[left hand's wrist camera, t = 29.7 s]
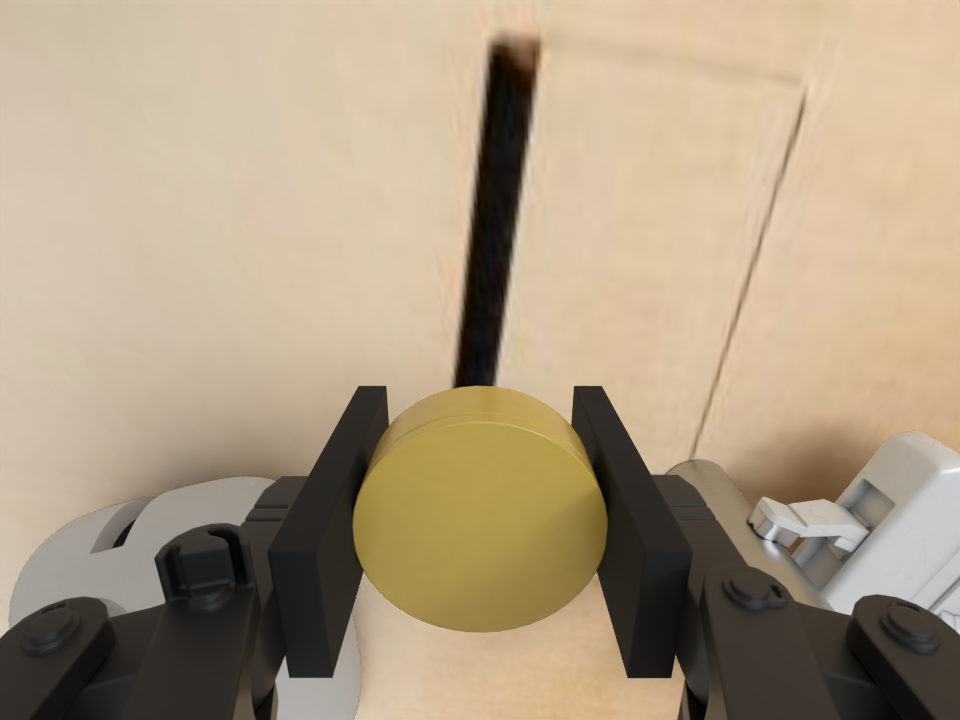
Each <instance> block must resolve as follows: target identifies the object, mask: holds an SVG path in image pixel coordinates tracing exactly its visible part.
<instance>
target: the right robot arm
mask: <svg viewBox="0 0 960 720" xmlns="http://www.w3.org/2000/svg"><path fill="white" fill-rule="evenodd" d="M747 520H748V522H749V523H751V524H753V526H754V530H755V531H756V532H757V533H758V534H759V535H760V536H761V537H763V538H764V539H766V540H769V541H776V542H777V543H778V544H779V545H781V546H784V547H786V548H790V547H791V546H792V544H793V543H794V542H795V541H796V540H797V539H798V537H806V538H805V539H804V540H803V542H802V543H801V544H800V545H799V547H798V548H797V549H796V550H795V551H794V553H793V554H792V555H791V556H792V557H793V558H794V560H795V561H796V562H797V563H798V565H799V566H800V567H801V568H802V570H803V571H804V572H805V574H806V575H807V576H808V577H809V579H810V580H811V581H812V582H813V584H814V585H815V586H816V587H817V589H818V590H819V591H820V592H821V594H822V595H823V596H824V598H825V599H826V600H827V601H828V603H829V604H830V605H831V606H832V608H833V609H834V610H835V611H836V612H839V613H843V614H847V615H851V614H852V611H853V608H854V605H855V603H856V602H857V601H858V600H859V599H860V598H862V597H863V596H868V595H875V594H880V595H886V596H893V597H897V598H900V599H903V600H906V601H909V602H912V603H914V604H917V605H919V606H921V607H922V608H924V609H926V610H928V611H930V612H931V613H933V614H935V615H937V616H938V617H940V618H941V619H942V620H943V621H944V622H946V623H947V624H948V625H949V626H951V627H952V628H953V629H954V630H956V631H957V632H958V633H959V634H960V453H958V452H956V451H955V450H953V449H951V448H950V447H948V446H946V445H944V444H943V443H941V442H939V441H937V440H936V439H934V438H932V437H930V436H928V435H926V434H924V433H922V432H920V431H910V432H904V433H899V434H895V435H892V436H890V437H889V438H887V439H886V441H885V442H884V443H883V444H882V445H881V447H880V448H879V449H878V450H877V451H876V453H875V454H874V455H873V456H872V458H871V459H870V460H869V461H868V462H867V464H866V465H865V466H864V467H863V469H862V470H861V471H860V472H859V473H858V475H857V476H856V477H855V478H854V480H853V481H852V482H851V483H850V484H849V486H848V487H847V488H846V489H845V490H844V492H843V493H842V494H841V495H840V497H839V498H838V499H837V500H836V501H835V503H833V502H830V501H828V500H825V499H819V500H812V501H805V502H798V503H791V504H788V505H784V504H782V503H779V502H777V501H774V500H772V499H769V498H767V497H762V498H761V499H760V500H759V502H758V503H757V504H756V506H755V507H754V509H753V510H752V511H751V513H750V514H749V516H748V517H747Z"/></svg>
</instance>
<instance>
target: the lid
mask: <svg viewBox="0 0 960 720" xmlns="http://www.w3.org/2000/svg"><path fill="white" fill-rule="evenodd" d="M352 524H353V535H354V544H355V550H356V554H357V556H358V559H359V561H360V564H361V566H362V568H363V570H364V572H365V573H366V575H367V577H368V578H369V580H370V581H371V582H372V584H373V585H374V586H375V588H376V589H377V590H378V591H379V592H380V593H381V594H382V595H383V596H384V597H385V598H386V599H387V600H389V601H390V602H391V603H392V604H394V605H395V606H396V607H398V608H399V609H401V610H402V611H404V612H406V613H407V614H409V615H411V616H413V617H415V618H417V619H419V620H421V621H423V622H426V623H429V624H432V625H435V626H438V627H442V628H446V629H451V630H457V631H464V632H497V631H504V630H510V629H515V628H518V627H522V626H526V625H529V624H531V623H534V622H537V621H539V620H542V619H544V618H546V617H547V616H549V615H551V614H553V613H555V612H557V611H558V610H560V609H561V608H563V607H564V606H565V605H567V604H568V603H569V602H571V601H572V600H573V599H574V598H575V597H576V596H577V595H579V593H580V592H581V591H582V590H583V589H584V588H585V587H586V586H587V584H588V583H589V582H590V580H591V579H592V577H593V576H594V574H595V573H596V571H597V569H598V567H599V565H600V563H601V560H602V558H603V554H604V551H605V547H606V538H607V528H608V515H607V509H606V504H605V501H604V498H603V495H602V492H601V489H600V487H599V484H598V481H597V479H596V476H595V473H594V471H593V468H592V465H591V463H590V460H589V457H588V454H587V452H586V449H585V447H584V445H583V443H582V441H581V439H580V438H579V436H578V435H577V433H576V432H575V430H574V429H573V428H572V426H571V425H570V424H569V423H568V422H567V421H566V420H565V419H564V418H563V417H562V416H561V415H560V414H558V413H557V412H556V411H555V410H553V409H552V408H551V407H549V406H548V405H546V404H544V403H543V402H541V401H539V400H538V399H535V398H533V397H531V396H528V395H526V394H524V393H520V392H517V391H513V390H510V389H505V388H499V387H491V386H471V387H461V388H456V389H451V390H446V391H443V392H440V393H437V394H434V395H432V396H429V397H427V398H425V399H423V400H421V401H419V402H417V403H416V404H414V405H413V406H411V407H410V408H408V409H407V410H405V411H404V412H403V413H402V414H401V415H400V416H399V417H397V418H396V419H395V420H394V421H393V422H392V424H391V425H390V426H389V427H388V428H387V429H386V431H385V432H384V434H383V435H382V437H381V438H380V440H379V442H378V444H377V446H376V448H375V451H374V453H373V455H372V458H371V461H370V463H369V466H368V469H367V471H366V474H365V477H364V479H363V482H362V485H361V488H360V490H359V493H358V495H357V499H356V502H355V506H354V510H353V519H352Z"/></svg>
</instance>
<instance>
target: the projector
mask: <svg viewBox="0 0 960 720" xmlns="http://www.w3.org/2000/svg"><path fill="white" fill-rule="evenodd" d="M274 482H276V481H275V480H272V479H268V478H263V477H249V476H239V477H230V478H223V479H218V480H212V481H207V482H203V483H199V484H194V485H190V486H186V487H182V488H178V489H174V490H170V491H167V492H165V493H163V494H161V495H159V496H158V497H156V498H149V497H148V498H140V499H136V500H132V501H128V502H125V503H121V504H118V505H114V506H111V507H107V508H104V509H101V510H98V511H95V512H92V513H90V514H87V515H85V516H83V517H80V518H78V519H76V520H74V521H72V522H70V523H69V524H67V525H65V526H64V527H62V528H61V529H59V530H58V531H56V532H55V533H54V534H53V535H51V536H50V537H49V538H48V539H47V540H46V541H45V542H43V543H42V544H41V545H40V546H39V548H38V549H37V550H36V551H35V552H34V553H33V555H32V556H31V557H30V559H29V560H28V562H27V563H26V565H25V566H24V568H23V570H22V571H21V573H20V576H19V578H18V580H17V582H16V584H15V587H14V591H13V594H12V598H11V602H10V611H9V627H10V629H11V628H12V627H13V626H15V625H16V624H17V623H18V622H20V621H21V620H22V619H23V618H25V617H27V616H28V615H30V614H32V613H34V612H36V611H37V610H39V609H41V608H43V607H45V606H47V605H50V604H53V603H56V602H58V601H61V600H64V599H69V598H76V597H82V596H86V597H92V598H98V599H99V600H101V601H102V602H103V603H104V604H105V605H106V606H107V609H108V613H109V616H110V617H114V616H118V615H122V614H126V613H131V612H135V611H139V610H143V609H148V608H151V607H155V606H158V605H161V604H164V603H165V598H164V594H163V590H162V587H161V583H160V579H159V576H158V572H157V568H156V564H155V561H154V557H155V556H156V555H157V553H158V552H159V551H160V549H161V548H162V547H163V546H164V545H165V544H167V543H168V542H169V541H171V540H172V539H173V538H175V537H176V536H178V535H180V534H182V533H184V532H186V531H188V530H190V529H193V528H196V527H200V526H204V525H207V524H212V523H230V524H234V525H237V526H240V525H241V524H242V522H245V518H246V517H247V515H248V514H249V512H250V511H251V509H254V505H255V503H256V502H257V500H258V499H259V497H260V496H261V494H262V493H263V491H264V490H265V489H266V488H267V487H269V486H270V485H272V484H273V483H274ZM275 682H276V687H277V694H278V711H277V720H354V718H355V716H356V712H357V709H358V706H359V700H360V693H361V664H360V653H359V646H358V640H357V634H356V629H355V624H354V620H353V616H352V612H351V616H350V619H349V623H348V626H347V630H346V633H345V637H344V640H343V644H342V647H341V651H340V654H339V657H338V661H337V664H336V668H335V671H334V675H333V678H289V674H288V668H287V663H286V657H284V660H283V662H282V665H281V667H280V670H279V672H278V675H277V677H276V680H275Z"/></svg>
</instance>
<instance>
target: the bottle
mask: <svg viewBox="0 0 960 720" xmlns="http://www.w3.org/2000/svg"><path fill="white" fill-rule="evenodd" d="M666 475H679V476H680V477H682V478H683V479H684V480H686V481H687V482H689V483H690V484H691V485H693V486H694V487H695V488H696V489H697V490H698V491H699V493H700V494H701V496H702V497H703V499H704V500H705V502H706V503H707V507H709V508H710V509H711V511H712V512H713V514H714V515H715V517H716V520H718V521H719V523H720V524H721V526H722V527H723V529H724V530H725V532H726V533H727V535H728V536H729V538H730V539H731V541H732V542H733V544H734V545H735V546H736V548H737V549H738V551H739V552H740V554H741V555H742V557H743V558H744V560H745V561H746V563H747V564H748V566H751V567H755V568H758V569H760V570H762V571H763V572H765V573H767V574H769V575H771V576H773V577H774V578H776V579H777V580H778V581H779V582H780V583H781V584H783V585H784V586H785V587H786V588H787V589H788V591H789V592H790V594H791V595H792V597H793V599H794V600H795V601H797V602H800V603H803V604H806V605H809V606H813V607H818V608H822V609H826V610H830V611H835V610H834V609H833V608H832V606H831V605H830V604H829V603H828V601H827V600H826V599H825V598H824V596H823V595H822V594H821V592H820V591H819V590H818V589H817V587H816V586H815V585H814V584H813V582H812V581H811V580H810V579H809V577H808V576H807V575H806V574H805V572H804V571H803V570H802V568H801V567H800V566H799V565H798V563H797V562H796V561H795V560H794V558H793V557H792V556H791V555H790V553H789V552H788V551H787V550H786V548H785V547H784V546H781V545H779V544H778V543H777V542H776V541H769V540H766V539H764V538H763V537H761V536H760V535H759V534H758V533H757V532H756V531H755V530H754V526H753V524H751V523H749V522H748V520H747V517H748V516H749V514H750V513H751V511H752V510H753V509H754V508H753V507H752V505H751V504H750V503H749V502H748V500H747V499H746V498H745V497H744V495H743V494H742V493H741V492H740V490H739V489H738V488H737V486H736V485H735V484H734V483H733V481H732V480H731V479H730V478H729V476H728V475H727V474H726V473H725V471H724V470H723V469H722V468H721V467H720V466H718V465H717V464H715V463H713V462H710V461H706V460H691V461H687V462H684V463H681V464H679V465H677V466H676V467H674V468H673V469H672V470H670V471H669V472H668V473H667V474H666ZM835 612H836V611H835Z"/></svg>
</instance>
